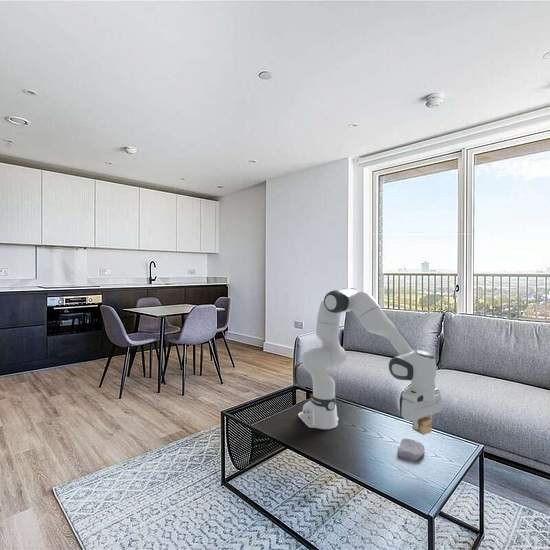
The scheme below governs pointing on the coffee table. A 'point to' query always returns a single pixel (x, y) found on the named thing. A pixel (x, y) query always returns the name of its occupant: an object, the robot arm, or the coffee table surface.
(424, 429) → the oak cube
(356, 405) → the coffee table surface
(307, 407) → the robot arm
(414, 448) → the stone block
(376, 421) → the coffee table surface
